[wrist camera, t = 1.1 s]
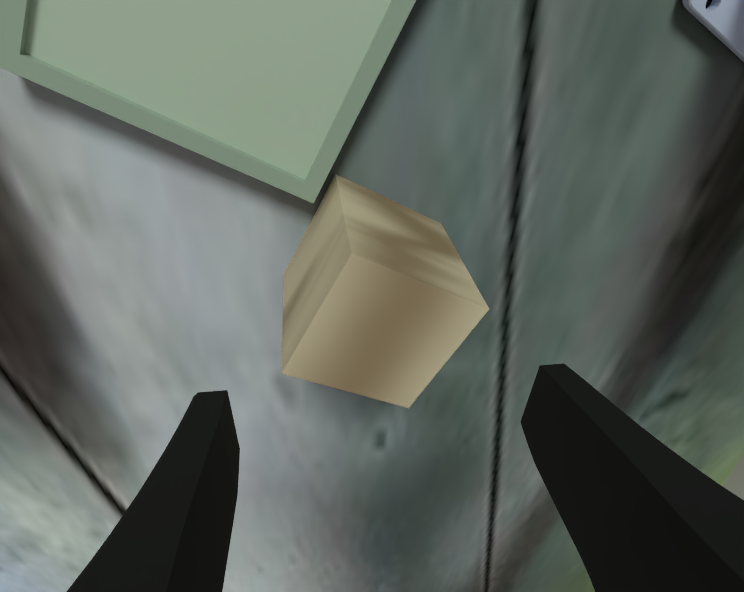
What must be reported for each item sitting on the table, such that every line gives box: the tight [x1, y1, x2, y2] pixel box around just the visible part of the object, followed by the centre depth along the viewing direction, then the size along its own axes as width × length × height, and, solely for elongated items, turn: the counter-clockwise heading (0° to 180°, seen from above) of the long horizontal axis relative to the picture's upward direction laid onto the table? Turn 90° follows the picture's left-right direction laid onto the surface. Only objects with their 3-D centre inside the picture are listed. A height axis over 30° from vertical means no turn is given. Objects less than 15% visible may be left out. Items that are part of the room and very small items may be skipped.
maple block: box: [282, 174, 489, 408], centre depth 17 cm, size 5×5×6 cm
